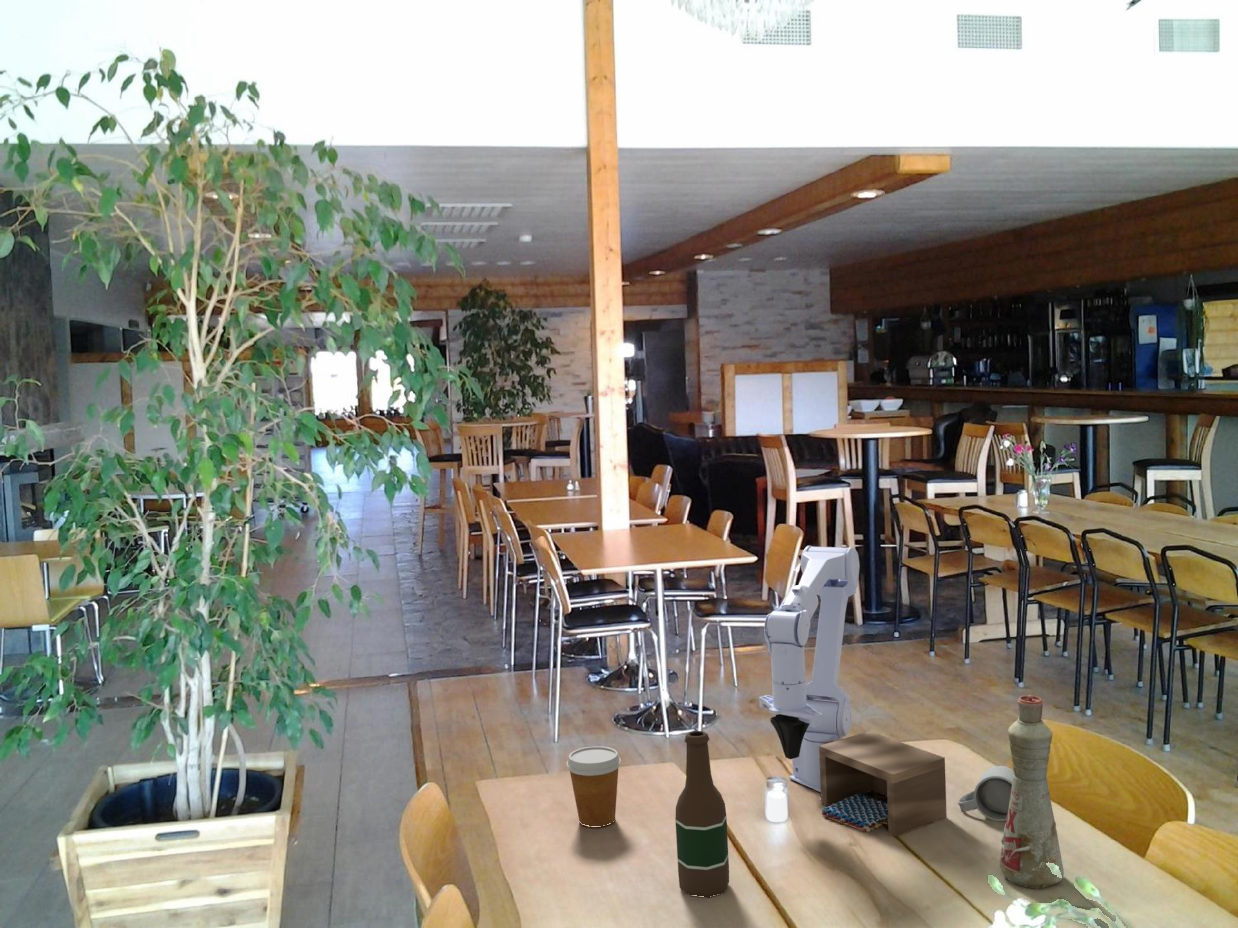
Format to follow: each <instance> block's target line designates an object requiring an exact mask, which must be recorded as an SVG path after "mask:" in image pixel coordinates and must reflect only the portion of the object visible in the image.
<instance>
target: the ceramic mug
mask: <svg viewBox="0 0 1238 928" xmlns="http://www.w3.org/2000/svg"><path fill="white" fill-rule="evenodd" d="M1013 776H1014V771H1013V768H1010V767H1007V766H1004V765H995V766H992V767H990V768H988V769H987V770H985V771H984V772H983V773H982V775H981V776H980V778H979V780H978V782H977V784H976V785H975V787H974V790H973V791H970V792H968V793H966V794H964V795H962V796H961V797H960V798H959V799H958V800H957V804H958V806H959V807H960V810H961V811H963V812H969V811H972V810H973V811H974V810H978V811H979V813H980V814H981V815H983V816H984V817H985V818H986V819H989V820H991V821H995V822H1004V821H1005V822H1006V820H1007V814H1008V808H1009V801H1010V795H1011V788H1012V782H1013Z"/></svg>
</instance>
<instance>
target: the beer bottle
mask: <svg viewBox="0 0 1238 928" xmlns="http://www.w3.org/2000/svg"><path fill="white" fill-rule="evenodd" d="M683 741H684V743H685V744H686V758H685V759H686V766H685V767H686V768H685V771H686V772H685V773H686V774H685V775H686V777H685V784H684V788H683V790H682V791H681V793H680V795H679V797H678V799H677V803H676V806H675V816H674V817H675V818H674V819H675V821H674V822H675V835H676V836H675V837H676V854H677V870H678V871H677V872H678V873H677V874H678V883H679V884H678V885H679V888H680V889H681V891H683V890H684V891H685V892H686V893H685V892H684V891H683V892H684V893H685V894H687V895H688V894H689V895H697V896H704V897H710V896H713V895H716V896H718V895H717V894H720V895H722V894H721V893H723V894H724V893H725V892H726V890H727V888H728V885H729V883H730V861H729V859H730V858H729V843H728V842H729V841H728V839H729V838H728V824H727V822H728V820H727V810H726V803H725V800H724V798H723V796H722V794H721V792H720V791H719V790H718V788H717V787H716V785H715V784H714V781H713V777H712V771H711V761H710V751H709V744H708V742H709V741H710V737H709V734H708V733H707V732H705V731H703V730H694V731H689V732H687V733H686V735H685V737H684V740H683ZM689 895H688V896H689ZM713 897H714V896H713ZM710 898H711V897H710Z"/></svg>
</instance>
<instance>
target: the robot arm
mask: <svg viewBox="0 0 1238 928" xmlns="http://www.w3.org/2000/svg"><path fill="white" fill-rule="evenodd" d="M859 557H860V556H859V553H858V551H857V550H856V548H855V547H853V546H849V547H837V546H836V547H835V546H833V547H832V546H812V545H807V546H806V547H805V548H804V549H803V550H802V553H801V556H800V569H801V573H802V575H801V578H800V579H799V582H798V585H794V586H791V587H790V588H789V589H788V591H787V593H786V594H785V596H784V598H783V600H782V601H781V603H780V605H779V606H778V608H777V610H773V611H772V612H771V613H768V614H767V615H766V618H765V620H764V625H763V626H764V627H763V628H764V631H763V636H764V640H765V642H766V645H767V653H768V654H769V655H770V662H771V663H770V664H771V666H770V668H771V687H772V689H771V690H772V695H769V694H766V695H763V696H758V702H759V704H758V705H759V708H760V709H767V710H769V711H768V712H769V713H770V714H771V715H774V716H772V717H770V723H771V725H772V727H773V728H774V729H775V731H776V733H777V736H778V738H779V741H780V744H781V747H782V752H783V755H784V757H785V758H786V759H788V760H792V775H789V779H790V781H791V780H792V781H794V782H797V783H799V784H801V785H803V786H806V787H807V788H810V789H812V790H815V791H817V792H819V793H821V782H820V758H819V746H821V745H824V744H827V743H831V742H834V741H838V740H841V739H843V738H845V737H846V736H848V734H849V732H850V730H851V726H852V720H853V719H852V708H851V707H852V699H851V697H850V695H849V693H848V692H846V690H844V689H843V688H842V687H841V686H840V685H839V684H838V683H839V677H840V676H839V675H840V667H841V666H840V665H841V656H842V649H843V647H842V646H843V641H844V640H843V639H844V638H843V637H844V632H845V631H844V630H845V620H846V612H847V605H848V601H849V597H851V596H853V595H855V594H856V593H857V588H858V584H859V577H860V576H859V575H860V558H859ZM818 596H819V598H818ZM819 599H820V606H819ZM818 606H819V614H818V615H819V616H818V623H817V631H816V640H815V641H816V642H815V650H814V656H813V665H812V666H813V668H812V673H811V674H812V675H811V681H809V682H808V683H807V681H806V660H805V658H806V655H805V645H806V644H807V642H808V640H809V633H810V629H811V626H812V624H811V619H812V617H813V616H814V614H815V612H816V610H817V608H818Z"/></svg>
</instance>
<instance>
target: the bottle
mask: <svg viewBox="0 0 1238 928" xmlns="http://www.w3.org/2000/svg"><path fill="white" fill-rule="evenodd" d="M1017 704H1018V707H1017V708H1018V718H1017V720H1016V721H1014V722H1013V723H1012V724H1011V725H1010V726H1009V728H1008V729H1007V733H1008V734H1007V735H1008V740H1009V747H1010V755H1011V761H1012V770H1013V771H1014V776H1013V782H1012V788H1011V795H1010V801H1009V808H1008V814H1007V820H1006V821H1005V824H1004V830H1003V835H1002V838H1001V840H1000V842H1001V843H1002V845H1001V852H1000V858H999V859H1000V860H999V863H998V865H999V869H1000V872H1001V874H1002V875H1003V876H1004V877H1005V879H1007V880H1008V881H1009V882H1011V883H1013V884H1016V885H1019V886H1021V887H1026V888H1029V889H1030V888H1032V889H1036V890H1037V889H1039V888H1040V889H1041V888H1043V889H1044V888H1046V887H1050V886H1053V885H1056V884H1058V883H1060V882H1061V881H1062V880H1063V879H1064V876H1065V875H1064V874H1065V870H1064V864H1063V859H1062V854H1061V849H1060V848H1061V847H1060V842H1059V837H1058V831H1057V826H1056V825H1057V823H1056V820H1055V816H1054V811H1053V805H1052V800H1051V794H1050V789H1049V784H1048V778H1047V776H1048V765H1049V760H1050V753H1051V748H1052V747H1051V745H1052V741H1053V740H1052V739H1053V731H1052V730H1051V728H1050V727H1049V726H1048V725H1047V724H1046V723H1044V721H1043V719H1042V716H1043V706H1044V705H1043V704H1044V702H1043V700H1042V699H1041V697H1039V696H1036V695H1032V694H1029V695H1021V696H1019V697H1018V699H1017ZM1048 862H1049V863H1054V864H1055V865H1057V866H1059V870H1060V872H1061V875H1062V878H1059V877H1057V875H1054V874H1052V872H1051V870H1050V868H1049V867H1048V866H1047V865H1046V863H1048Z"/></svg>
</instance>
